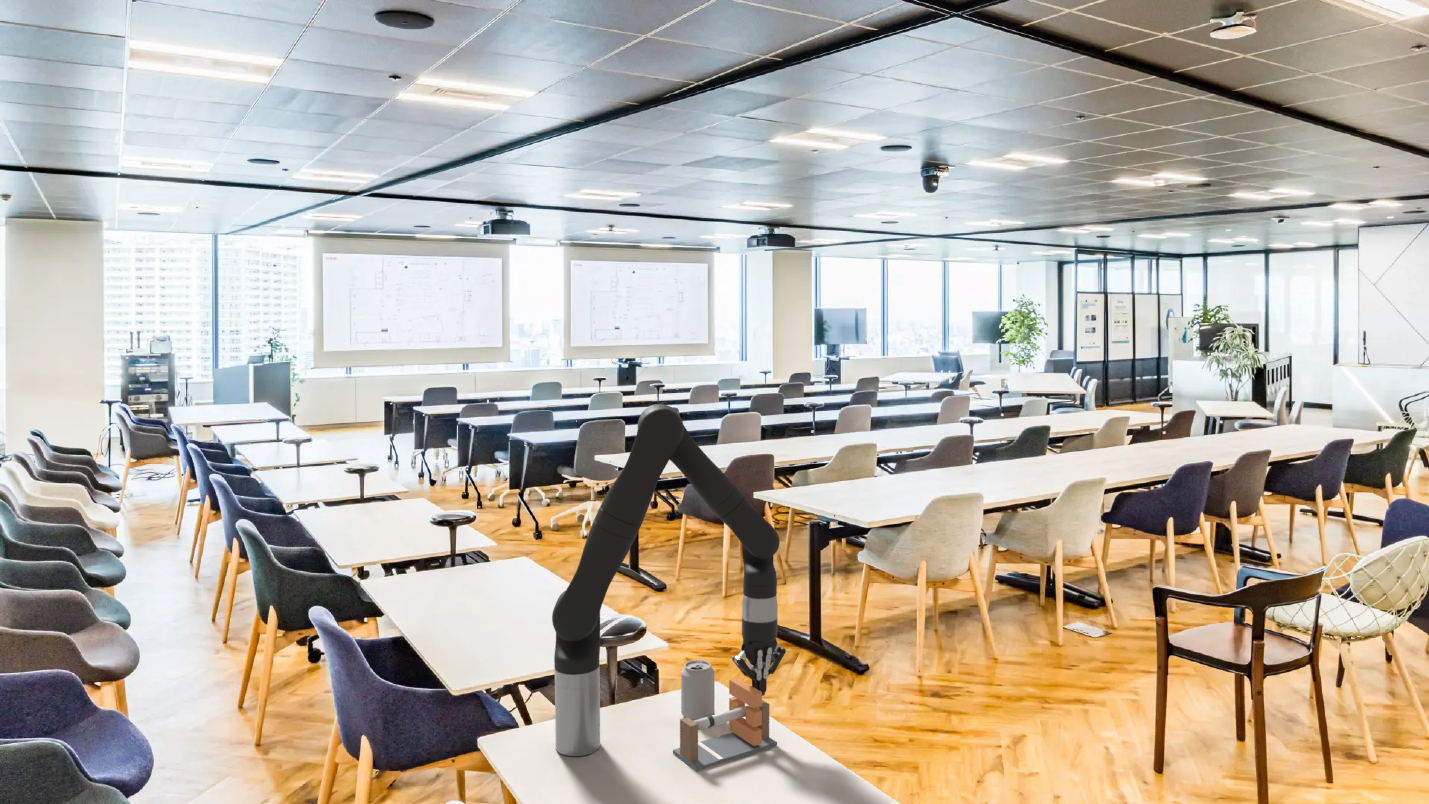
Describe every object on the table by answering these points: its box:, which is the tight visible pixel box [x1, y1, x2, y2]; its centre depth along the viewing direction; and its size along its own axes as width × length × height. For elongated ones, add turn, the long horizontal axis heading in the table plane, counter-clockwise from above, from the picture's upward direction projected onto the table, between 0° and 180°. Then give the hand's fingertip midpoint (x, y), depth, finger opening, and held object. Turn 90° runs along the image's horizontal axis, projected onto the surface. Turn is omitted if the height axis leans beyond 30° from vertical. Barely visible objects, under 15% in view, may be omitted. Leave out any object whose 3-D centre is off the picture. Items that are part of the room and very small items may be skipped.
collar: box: [728, 677, 763, 746], centre depth 191 cm, size 2×9×11 cm, turn 33°
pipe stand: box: [672, 699, 778, 772], centre depth 188 cm, size 20×9×8 cm, turn 123°
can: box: [680, 659, 716, 721], centre depth 205 cm, size 8×8×12 cm
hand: (758, 695), depth 193 cm, fingers closed
